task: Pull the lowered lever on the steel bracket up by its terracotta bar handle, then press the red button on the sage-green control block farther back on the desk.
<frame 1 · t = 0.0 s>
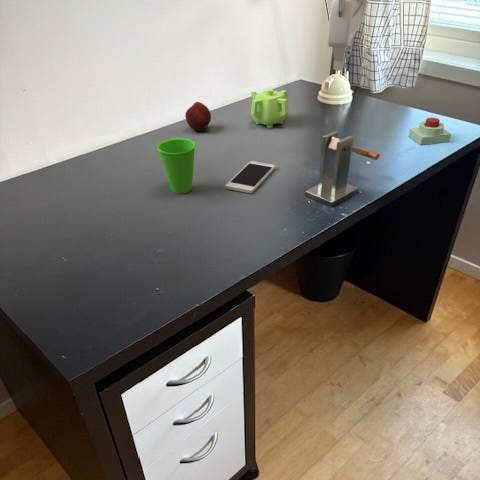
hand: (342, 62, 93), 29 cm above the table, tool pointing down, fingers open, 8 cm apart
lever: (352, 148, 111), point 9 cm above the table, hinge at -25.0°
smartphone: (251, 178, 121), on the table
button: (432, 122, 134), point 4 cm above the table, slide at 0.1 cm
green pot with handles: (268, 123, 150), on the table
bracket: (331, 194, 114), on the table
control block: (428, 138, 137), on the table
cup: (181, 189, 118), on the table
apple: (200, 130, 147), on the table
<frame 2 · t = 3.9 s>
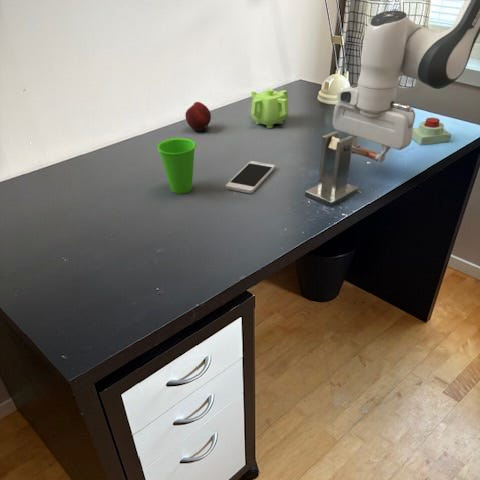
hand: (366, 156, 116), 5 cm above the table, tool pointing down, fingers closed on lever, 6 cm apart
lever: (352, 149, 111), point 9 cm above the table, hinge at -25.1°, touching gripper
everything else where it was.
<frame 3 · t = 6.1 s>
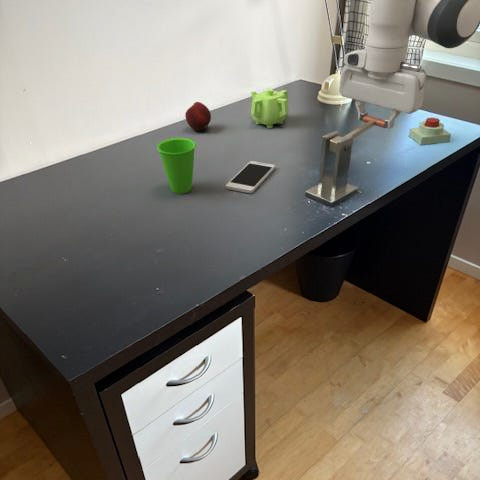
hand: (374, 123, 112), 13 cm above the table, tool pointing down, fingers closed on lever, 6 cm apart
lever: (355, 133, 108), point 13 cm above the table, hinge at 5.8°, touching gripper
everything else where it was.
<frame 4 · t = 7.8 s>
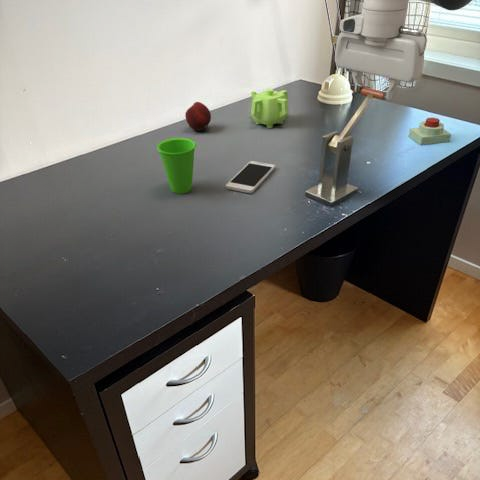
hand: (372, 95, 106), 20 cm above the table, tool pointing down, fingers closed on lever, 6 cm apart
lever: (354, 120, 106), point 16 cm above the table, hinge at 35.5°, touching gripper
everything else where it was.
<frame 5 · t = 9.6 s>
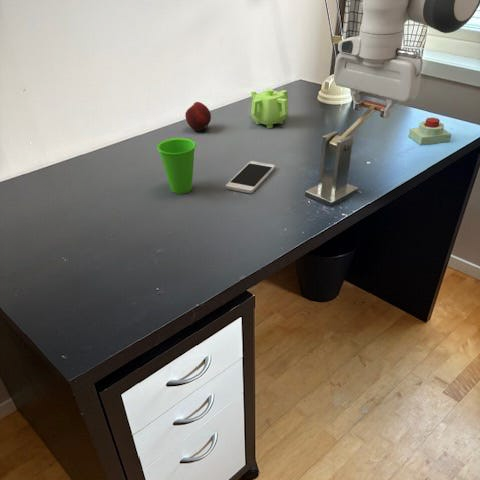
hand: (370, 113, 109), 16 cm above the table, tool pointing down, fingers closed on lever, 6 cm apart
lever: (355, 125, 107), point 14 cm above the table, hinge at 21.0°, touching gripper
everything else where it was.
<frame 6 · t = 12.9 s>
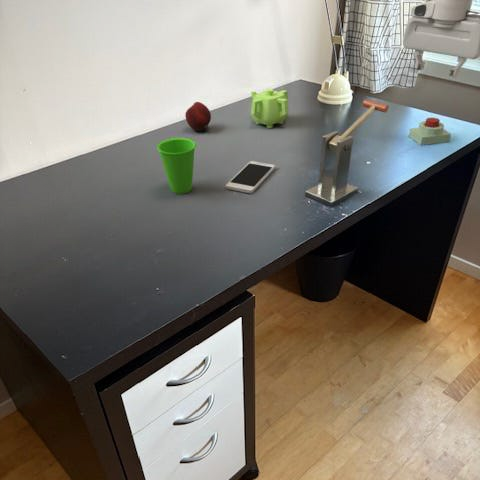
hand: (436, 72, 122), 19 cm above the table, tool pointing down, fingers open, 8 cm apart
lever: (355, 125, 107), point 14 cm above the table, hinge at 21.3°
everything else where it was.
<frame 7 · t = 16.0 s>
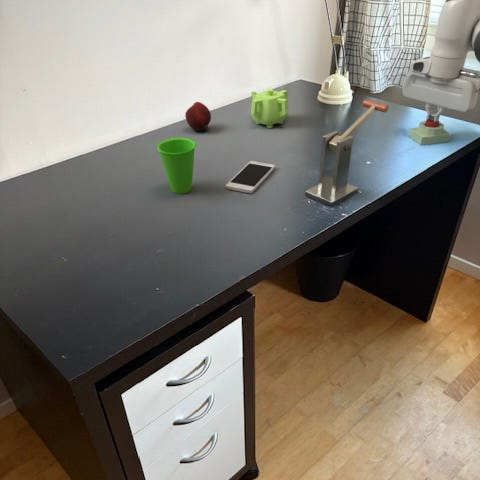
hand: (432, 120, 134), 5 cm above the table, tool pointing down, fingers closed, pressing on button
button: (431, 124, 134), point 4 cm above the table, slide at -0.2 cm, touching gripper
everything else where it was.
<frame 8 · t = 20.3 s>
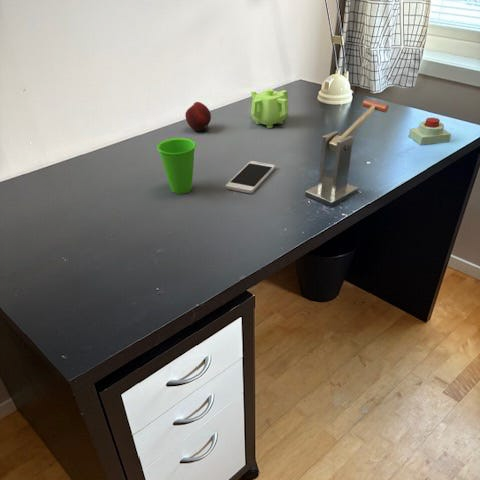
button: (432, 122, 134), point 4 cm above the table, slide at 0.1 cm
everything else where it was.
at the end: lever at +21° (first picture: -25°); button pushed in 1.1 cm at the most during the clip, back to where it started at the end; button slide at 0.1 cm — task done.
